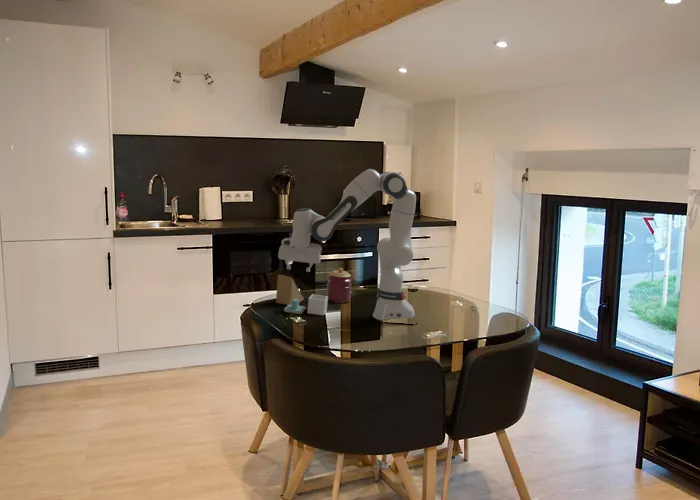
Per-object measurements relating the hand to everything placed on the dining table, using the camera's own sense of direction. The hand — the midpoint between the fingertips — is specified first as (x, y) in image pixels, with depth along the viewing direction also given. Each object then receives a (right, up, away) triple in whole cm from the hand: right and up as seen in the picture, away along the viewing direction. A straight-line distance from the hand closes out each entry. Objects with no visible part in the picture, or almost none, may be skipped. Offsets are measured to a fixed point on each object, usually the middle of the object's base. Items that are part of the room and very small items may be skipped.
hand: (298, 270), depth 303 cm
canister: (+18, -17, +32) cm, 41 cm away
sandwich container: (-5, -17, +20) cm, 27 cm away
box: (+9, -21, +5) cm, 23 cm away
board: (-2, -20, +4) cm, 21 cm away
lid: (-2, -19, +4) cm, 20 cm away
